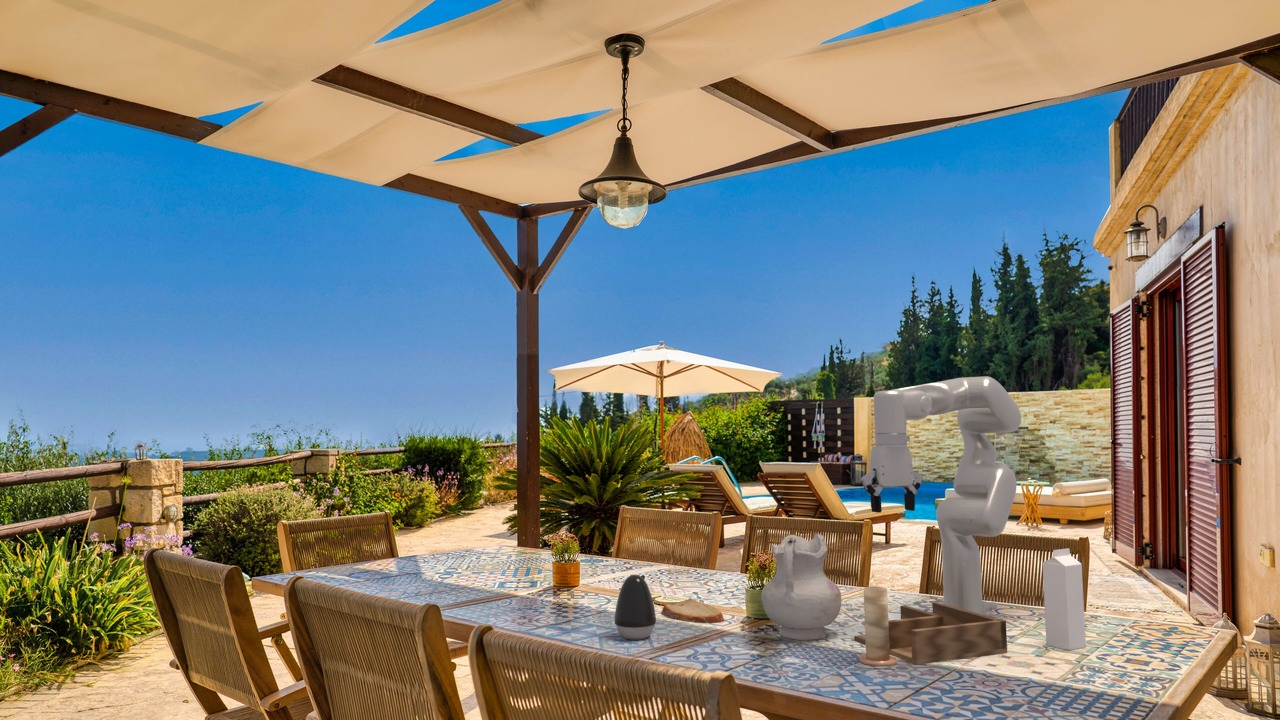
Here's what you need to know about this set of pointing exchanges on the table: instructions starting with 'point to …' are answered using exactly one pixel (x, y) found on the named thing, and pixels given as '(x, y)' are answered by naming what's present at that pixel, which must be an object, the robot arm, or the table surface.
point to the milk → (1064, 601)
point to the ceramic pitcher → (801, 589)
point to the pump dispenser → (635, 609)
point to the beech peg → (876, 623)
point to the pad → (877, 663)
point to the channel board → (944, 634)
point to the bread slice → (693, 612)
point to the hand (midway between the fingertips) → (893, 511)
